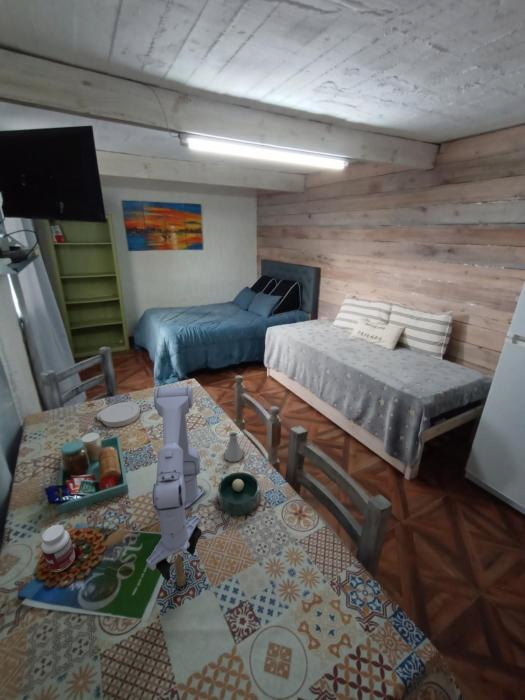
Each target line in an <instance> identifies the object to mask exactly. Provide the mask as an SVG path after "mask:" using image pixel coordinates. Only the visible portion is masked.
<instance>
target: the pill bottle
mask: <svg viewBox="0 0 525 700" xmlns="http://www.w3.org/2000/svg"><path fill="white" fill-rule="evenodd" d="M41 535H42V536H41V539H42V542H41V551H42V554H43V556H44V559H45V561H46V565H47V567H48V569H49V568H51V569H61V568H63V569H61V570H58V571H52V570H51V571H50V572H52V573H60V572H63V571H65V570H67V569H68V568H69V567H70V566H71V565H72V564H73V563H74V561H75V558H76V552H75V549H74V545H73V542H72V538H71V535H70V533H69V531H68V530H65V528H64V526H63V525H62V524H54V525H52V526H50V527H48V528H47V529H46V530H45V531H44V532H43V533H42V534H41ZM64 567H65V568H64Z"/></svg>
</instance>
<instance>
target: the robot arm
mask: <svg viewBox="0 0 525 700" xmlns="http://www.w3.org/2000/svg"><path fill="white" fill-rule="evenodd" d="M193 393H194V391H193V387H192V386H191V385H183V386H182V385H181V386H167V387H156V388H155V389H154V391H153V406H154V409H155V410H156V411H157V415H158V416H160V417H161V418H162V436H163V437H162V439H163V440H162V441H163V445H162V447H161V448H160V449H159V450H158V452H157V466H156V480H155V483H154V484H153V485H152V491H151V501H152V508H153V510H154V511H155V516H158V521H159V526H160V534H161V538H160V539H159V541H158V542H157V544H156V546H155V547H154V549H153V550H152V552H151V553H150V554H149V555H148V558H146V559H145V562H146V566H147V567H148V569H150V570H151V571H152V572H153V571H155V570H156V569H157V570H158V571H159V572H160V575H161V577H162V578H163V579H164V580H165V581H166V582H169V581H170V580H171V573H170V571H171V570H170V569H171V566H172V564H171V562H169V561H168V560H167V558H168V557H170V556H172V555H174V554H176V553H177V552H179V551H181V552H188V553H189V554H190V555H191V556H193V555H194V554H195V552H196V549H197V544H198V543H199V542H198V541H199V539H200V538H201V536H202V535H203V532H202V529H201V528H199V527H200V525H202V520H201V519H202V518H201V517H200V516H198V515H197V514H194V515H192V516H191V517H190V518H188V519H187V518H186V509H187V508H189V507H190V506H191V505H192V504H193V503H194V502H196V501H197V500H198V499H200V497H201V496H203V494H204V493H205V492H204V490H202V489H201V488H200V487H199V486H198V485H199V484H198V475H199V474H200V473H201V456H200V452H199V450H198V448H195V447H193V446H191V445H190V441H189V431H188V421H187V414H189V413H190V409H192V408H193V406H194V394H193Z"/></svg>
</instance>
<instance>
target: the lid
mask: <svg viewBox="0 0 525 700" xmlns="http://www.w3.org/2000/svg"><path fill="white" fill-rule="evenodd" d="M140 413H141V407H140V406H139V404H138V403H135V402H132V401H131V402H130V401H123V402H118V403H115V404H112V405H109V406H107V407H106V408H104V409H102V410H100V411H99V412H98V413H97V414H96V420H97V421H100V422H102V424H103V425H104V426H106V427H110V428H118V427H119V428H120V427H124V426H127V425H130V424H132V423H134V422H135V421H136V420H137V419H138V418H139V417H140Z"/></svg>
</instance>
